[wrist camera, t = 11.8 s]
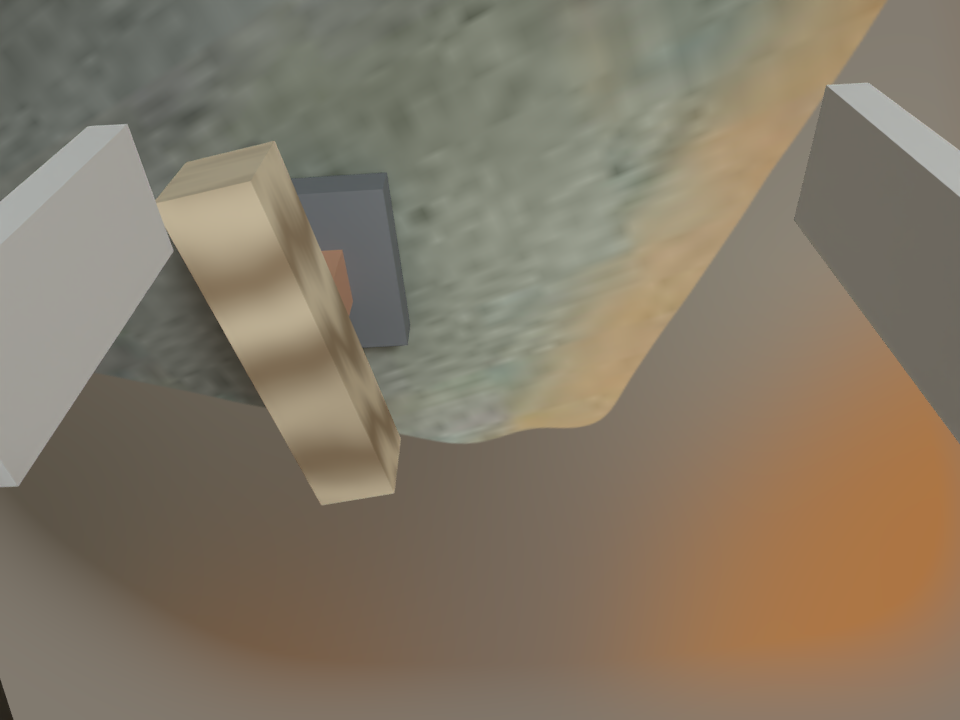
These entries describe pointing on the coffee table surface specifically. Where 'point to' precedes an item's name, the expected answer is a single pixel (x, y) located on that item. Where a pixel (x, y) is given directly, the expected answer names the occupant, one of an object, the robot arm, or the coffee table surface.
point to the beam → (284, 317)
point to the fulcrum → (360, 251)
